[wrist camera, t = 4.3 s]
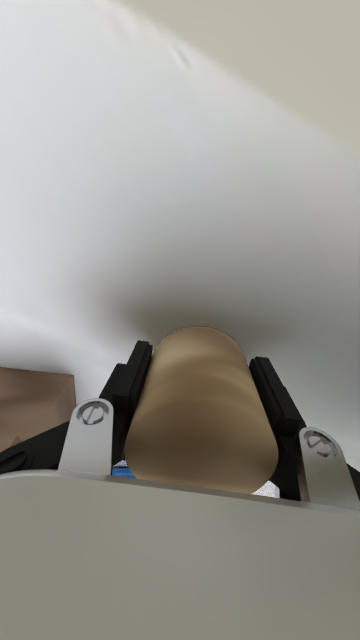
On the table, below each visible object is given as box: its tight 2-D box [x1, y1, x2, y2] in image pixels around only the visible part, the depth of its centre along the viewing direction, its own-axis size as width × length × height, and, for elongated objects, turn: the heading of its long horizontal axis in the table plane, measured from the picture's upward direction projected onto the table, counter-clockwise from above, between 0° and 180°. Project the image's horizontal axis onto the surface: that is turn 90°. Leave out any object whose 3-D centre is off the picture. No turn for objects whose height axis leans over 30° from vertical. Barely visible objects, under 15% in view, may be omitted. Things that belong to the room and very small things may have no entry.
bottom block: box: [0, 367, 77, 442], centre depth 14 cm, size 6×6×5 cm
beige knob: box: [124, 326, 278, 494], centre depth 10 cm, size 5×5×5 cm
